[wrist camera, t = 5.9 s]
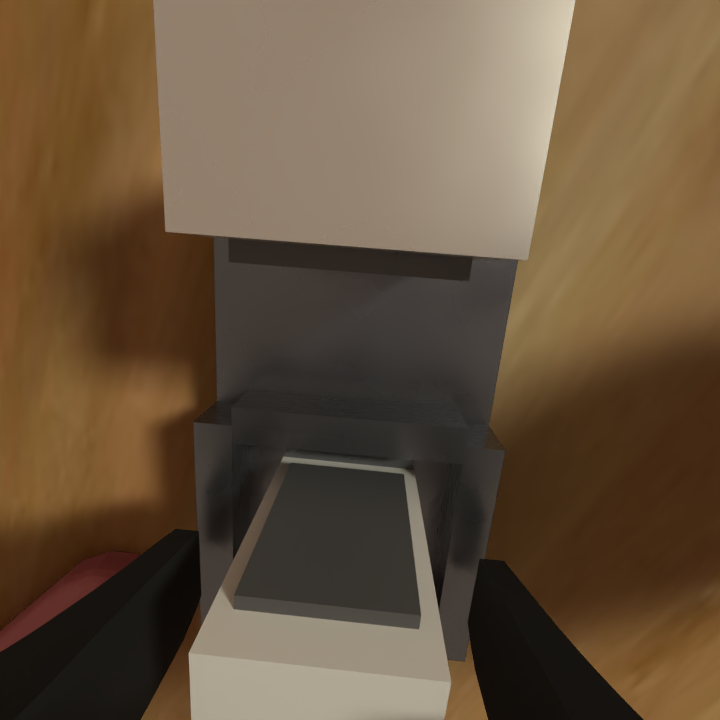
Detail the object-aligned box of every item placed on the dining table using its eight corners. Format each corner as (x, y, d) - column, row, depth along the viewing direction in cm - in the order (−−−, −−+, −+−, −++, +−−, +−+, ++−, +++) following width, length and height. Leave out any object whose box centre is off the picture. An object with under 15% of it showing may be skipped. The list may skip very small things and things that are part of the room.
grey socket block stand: (538, 26, 10) (997, -639, 3) (445, 590, 14) (514, 925, 7) (232, 7, 10) (-153, -663, 3) (236, 569, 15) (97, 875, 7)
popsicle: (-114, 736, 16) (91, 548, 13) (-72, 696, 18) (121, 518, 15) (-10, 802, 17) (205, 640, 14) (21, 758, 19) (222, 603, 16)
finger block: (399, 577, 13) (418, 851, 7) (279, 564, 13) (195, 823, 7) (415, 460, 11) (454, 667, 6) (283, 447, 12) (187, 637, 6)
